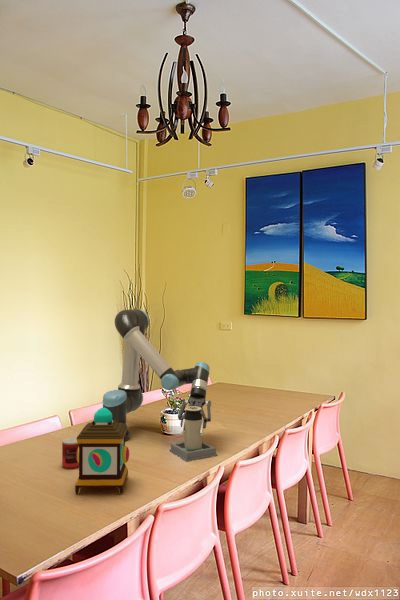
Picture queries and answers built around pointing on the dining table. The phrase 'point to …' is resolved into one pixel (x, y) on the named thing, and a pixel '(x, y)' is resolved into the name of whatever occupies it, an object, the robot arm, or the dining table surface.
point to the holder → (193, 451)
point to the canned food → (69, 453)
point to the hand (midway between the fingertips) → (191, 433)
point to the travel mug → (193, 427)
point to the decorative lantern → (102, 453)
